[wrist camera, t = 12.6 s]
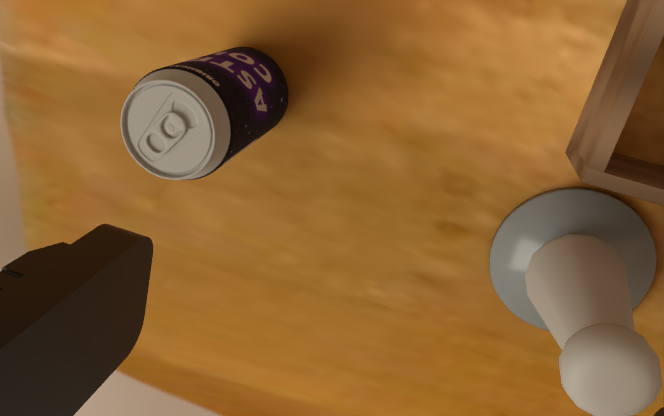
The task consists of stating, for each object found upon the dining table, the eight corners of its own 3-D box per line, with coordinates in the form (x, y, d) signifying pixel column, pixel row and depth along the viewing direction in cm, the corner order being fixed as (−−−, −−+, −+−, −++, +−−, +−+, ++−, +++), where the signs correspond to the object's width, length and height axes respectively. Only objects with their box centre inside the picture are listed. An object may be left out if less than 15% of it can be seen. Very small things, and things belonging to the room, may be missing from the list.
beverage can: (309, 95, 39) (247, 139, 28) (250, 149, 41) (171, 209, 30) (250, 26, 38) (162, 44, 27) (193, 85, 41) (90, 123, 30)
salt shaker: (517, 299, 40) (537, 432, 28) (526, 218, 38) (552, 325, 26) (611, 307, 39) (674, 449, 27) (625, 224, 37) (699, 339, 25)
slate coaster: (520, 168, 38) (520, 170, 37) (682, 214, 37) (685, 218, 36) (469, 301, 42) (469, 305, 41) (614, 347, 41) (616, 352, 40)
